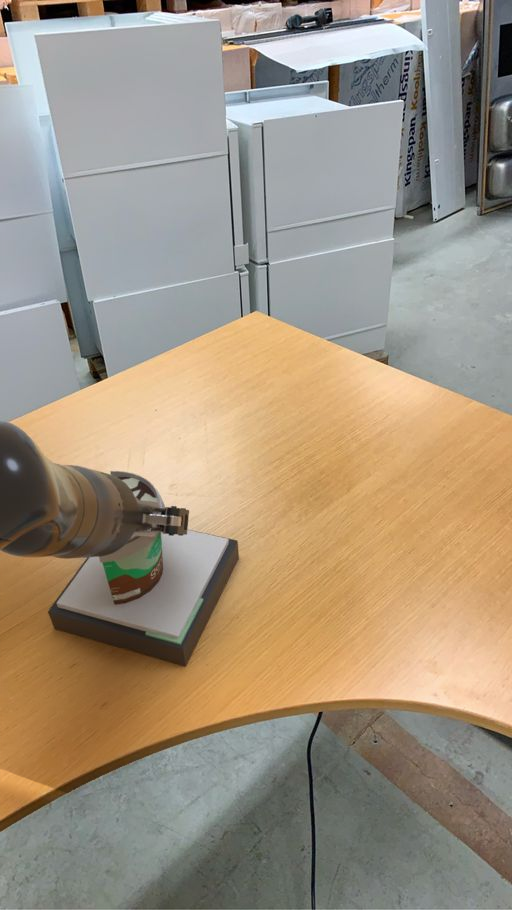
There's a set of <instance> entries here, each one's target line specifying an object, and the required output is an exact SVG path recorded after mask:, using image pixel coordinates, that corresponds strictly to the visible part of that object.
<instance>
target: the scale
mask: <svg viewBox="0 0 512 910" xmlns="http://www.w3.org/2000/svg"><path fill="white" fill-rule="evenodd" d="M186 530H187V535H184V534H183V536H180V535H178V534H174V536H170V535H169V534H163V533H162V532H161V538H162V556H163V573H162V576H161V578H160V580H159V582H158V583H157V584H156V586H155V587H154V588H153V589H152V590H151V591H150V592H148V593H147V594H145V595H144V596H142V597H140V598H139V599H136V600H133V601H130V602H127V603H123V604H115V605H114V602H113V598H112V595H111V591H110V588H109V584H108V581H107V577H106V574H105V570H104V567H103V563H100V559H99V557H87V558H85V559H84V560H83V563H82V564H81V565H80V566H79V568H78V569H77V571H76V572H75V574H74V575H73V576H72V578H71V579H70V580H69V582H68V583H67V584H66V586H65V587H64V588H63V590H62V591H61V593H60V594H59V595H58V597H57V598H56V599H55V601H54V602H53V604H52V605H51V606H50V608H49V609H48V611H47V614H48V616H49V618H50V622H51V625H52V627H53V629H54V630H57V631H61V632H64V633H68V634H71V635H75V636H77V637H81V638H86V639H88V640H92V641H95V642H99V643H102V644H106V645H110V646H113V647H117V648H120V649H124V650H127V651H130V652H133V653H138V654H142V655H145V656H147V657H151V658H154V659H159V660H161V661H165V662H168V663H173V664H176V665H179V666H183V667H187V665H188V663H189V661H190V659H191V657H192V654H193V652H194V650H195V648H196V647H197V645H198V643H199V641H200V638H201V637H202V634H203V632H204V630H205V628H206V626H207V624H208V623H209V621H210V618H211V616H212V614H213V611H214V610H215V608H216V606H217V604H218V601H219V599H220V597H221V596H222V593H223V591H224V589H225V588H226V586H227V584H228V581H229V579H230V577H231V575H232V574H233V571H234V569H235V567H236V565H237V563H238V560H239V559H240V553H239V542H238V540H237V539H233V538H228V537H224V536H220V535H219V536H218V535H214V534H210V533H206V532H201V531H196V530H192V529H189V528H188V529H186Z"/></svg>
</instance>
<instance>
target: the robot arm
mask: <svg viewBox="0 0 512 910" xmlns="http://www.w3.org/2000/svg"><path fill="white" fill-rule="evenodd" d="M159 513H161V515H158V514H159ZM189 518H190V510H189V509H186V507H181V508H180V507H177V506H176V505H171V507H170V506H165V508H160V506H159V504H158V503H157V502H151V501H143V500H138V498H137V497H135V496H134V494H133V492H132V491H131V489H130V488H129V487H128V485H127V484H126V483H125V482H123V481H122V480H121V479H119V478H118V477H116V476H113V475H111V473H106V472H103V471H100V470H96V469H92V468H88V467H84V466H81V465H75V464H60V463H57V462H53V461H52V460H50V459H49V458H48V457H47V456H46V455H45V454H44V453H43V451H42V450H41V448H40V447H39V446H38V445H37V443H36V442H35V441H34V439H32V437H30V435H29V434H27V433H26V431H24V430H23V429H22V428H20V427H19V426H17V425H15V424H13V423H11V422H7V421H5V420H4V421H3V420H0V552H2V553H5V554H8V555H11V556H13V557H20V558H51V557H52V558H56V559H65V560H66V559H67V560H69V559H83V558H84V559H87V557H100V556H106V555H109V554H112V553H114V552H116V551H117V550H119V549H120V548H122V547H123V546H124V545H125V544H126V543H127V542H128V541H129V539H130V538H133V537H134V536H145V537H154V536H156V534H157V533H158V532H162V533H163V534H169V535H170V536H174V534H178V535H180V536H183V534H184V535H187V530H186V529H188V530H189V528H188V527H189ZM157 525H160V528H159V527H158V526H157ZM138 530H140V531H138Z"/></svg>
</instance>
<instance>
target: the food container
mask: <svg viewBox="0 0 512 910" xmlns="http://www.w3.org/2000/svg"><path fill="white" fill-rule="evenodd" d="M109 474H111V475H113V476H116V477H118V478H119V479H121V480H122V481H123V482H125V483H126V484H127V485H128V487H129V488H130V489H131V491H132V492H133V494H134V496H135V497H137V498H138V500H143V501H151V502H157V503H158V504H159V506H160V508H165V507H166V506H165V503H164V501H163V498H162V496H161V494H160V492H159V490H158V489H157V488H156V487H155V486H154V484H152V482H151V481H149V479H147V478H145V477H144V476H141V475H140V474H137V473H133V472H129V471H123V470H110V473H109ZM158 515H161V513H159V514H158ZM157 526H158V527H159V528H160V525H157ZM138 531H140V530H138ZM99 559H100V563H103V567H104V570H105V574H106V577H107V581H108V584H109V588H110V591H111V595H112V598H113V602H114V605H115V604H123V603H127V602H130V601H133V600H136V599H139V598H140V597H142V596H144V595H145V594H147V593H148V592H150V591H151V590H152V589H153V588H154V587H155V586H156V584H157V583H158V582H159V580H160V578H161V576H162V573H163V556H162V538H161V532H158V533H157V534H156V536H154V537H145V536H134V537H133V538H130V539H129V541H128V542H127V543H126V544H125V545H124V546H123V547H122V548H120V549H119V550H117V551H116V552H114V553H112V554H109V555H106V556H100V557H99Z"/></svg>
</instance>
